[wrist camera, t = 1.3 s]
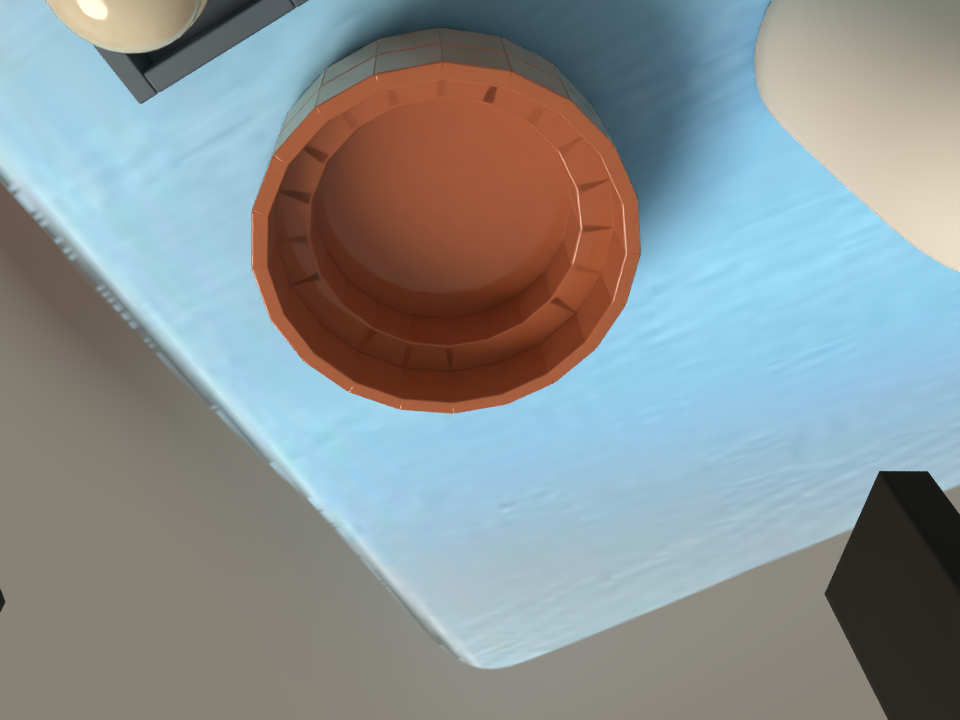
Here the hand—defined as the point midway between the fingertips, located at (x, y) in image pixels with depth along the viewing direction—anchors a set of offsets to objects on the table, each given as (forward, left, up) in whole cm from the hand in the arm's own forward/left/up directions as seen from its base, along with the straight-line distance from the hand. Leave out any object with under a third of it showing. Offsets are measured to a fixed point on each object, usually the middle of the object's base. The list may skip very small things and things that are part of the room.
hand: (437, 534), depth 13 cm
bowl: (+5, +3, -24) cm, 24 cm away
